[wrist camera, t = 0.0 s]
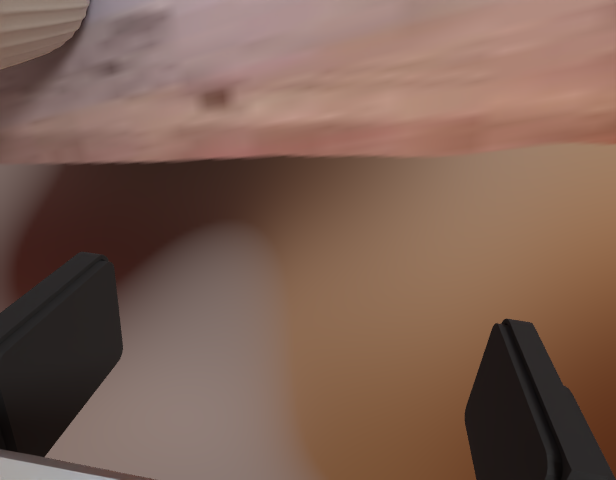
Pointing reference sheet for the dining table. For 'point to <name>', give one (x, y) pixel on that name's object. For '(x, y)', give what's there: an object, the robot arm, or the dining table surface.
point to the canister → (36, 27)
